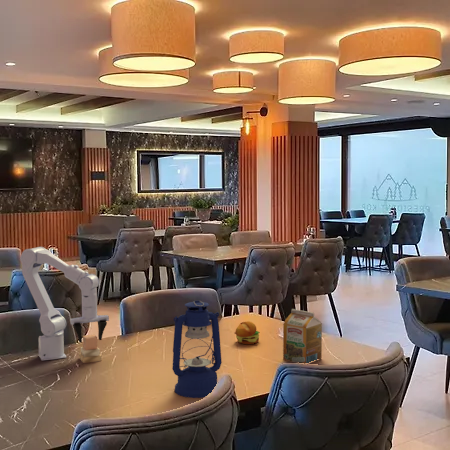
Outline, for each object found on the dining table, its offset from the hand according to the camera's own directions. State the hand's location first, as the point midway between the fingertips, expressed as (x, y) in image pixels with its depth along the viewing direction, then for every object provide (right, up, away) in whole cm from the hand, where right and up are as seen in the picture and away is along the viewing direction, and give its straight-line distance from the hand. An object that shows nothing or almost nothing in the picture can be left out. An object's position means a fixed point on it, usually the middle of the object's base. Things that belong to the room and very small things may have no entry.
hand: (90, 340), depth 238 cm
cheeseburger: (+62, -6, +25) cm, 67 cm away
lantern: (+43, -10, -34) cm, 56 cm away
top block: (0, -5, 0) cm, 5 cm away
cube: (0, -3, 0) cm, 3 cm away
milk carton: (+82, -7, 0) cm, 83 cm away
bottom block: (0, -8, +1) cm, 8 cm away
